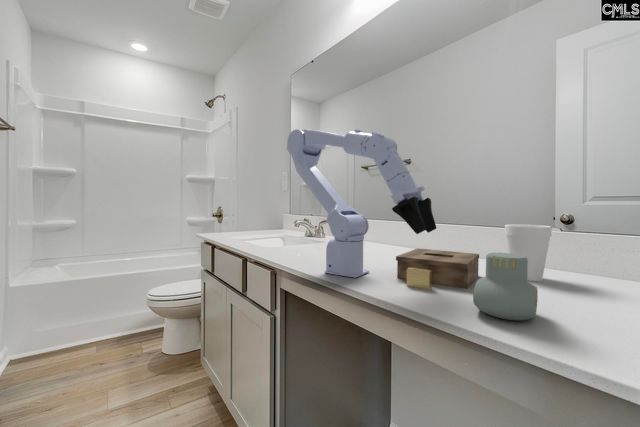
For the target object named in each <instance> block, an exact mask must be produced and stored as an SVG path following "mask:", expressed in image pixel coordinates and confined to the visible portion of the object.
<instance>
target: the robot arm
mask: <svg viewBox="0 0 640 427" xmlns="http://www.w3.org/2000/svg"><path fill="white" fill-rule="evenodd" d="M327 146H331V147H337V148H343V150H344V152H345V153H346V154H349V155H353V156H359V157H363V158H369V159H372V160H373V161H374V164H375V165H376V166H377V169H378V170H379V172H380V174H381V176H382V178H383V180H384V182H385V183H386V185H387V187H388V189H389V191H390V193H391V199H392V202H394V204H395V205H394V206H393V207H392V208H391V210H392V211H393V212H394V213H395V214H396V215H397V216H399V217H400V218H401V219H403V221H405V223H406V224H407V225H408V226H409V228H410V229H411V230H412V231H413V232H414V233H415V234H416V235H418V234H421V233H423V232H424V231H426V233H431V232H433V231H435V230H436V229H437V225H436V221H435V218H434V215H433V211H432V199H431V198H430V197H426V198H424V197H423V195H422V192H423V191H424V190H425V189H426V188H425V186H423V185H421V186H418V185H417V183H416V182H415V179H414V178H413V176H412V175H411V173H410V171H409V169H408V167H407V166H406V164H405V162H404V160H403V159H402V157H401V156H400V153H399V152H398V144H397V142H396V141H395V140H394V138H391V137H388V136H386V135H383V134H381V133H377V132H374V131H373V132H371V133H367V132H363V130H361V129H354V131H352V130H351V131H349V132H347V133H346V134H345V135H344V134H339V133H332V132H327V131H322V130H315V129H293V130H292V131H290V133H289V135H288V137H287V144H286V150H287V152H288V153H289V154H290V156H291V157H292V160H293V164H294V168H295V170H296V173H297V175H298V176H299V177H300V178H301V179H302V180H303V182H304V183H305V185H306V186H307V187H308V189H309V190H310V191H311V193H312V194H313V196H314V197H315V199H317V201H318V202H319V203H320V205H321V206H322V208H324V211H325V212H326V213H327V216H326V219H325V221H326V222H327V224H328V226H329V230H330V233H331V235H332V237H334V238H332V239H330V240H329V241H328V242H327V244H326V250H325V252H326V255H325V260H326V261H325V262H326V264H325V265H326V266H325V267H326V268H325V270H324V273H325V274H330V275H336V276H344V277H348V278H349V277H350V278H358V277H361V276H363V275H365V274H368V273H370V270H369V269H364V240H365V235H366V234H367V233H368V231H369V221H368V219H367V217H366V216H365V215H363V214H361V213H359V212H358V211H357V210H356V208H353V207H352V206H350V205H349V204H347V203H346V202H344V200H343V199H342V197H341V196H340V195H339V194H338V193H337V191H336V189H334V187H333V186H332V185H331V184H330V182H329V181H328V180H327V179H326V177H325V176H324V175H323V174H322V173H321V171H320V170H319V169H318V167H317V165H318V163H319V160H320V159H321V158H320V157H321V154H322V152H323V150H325V149H326V148H327Z"/></svg>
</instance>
